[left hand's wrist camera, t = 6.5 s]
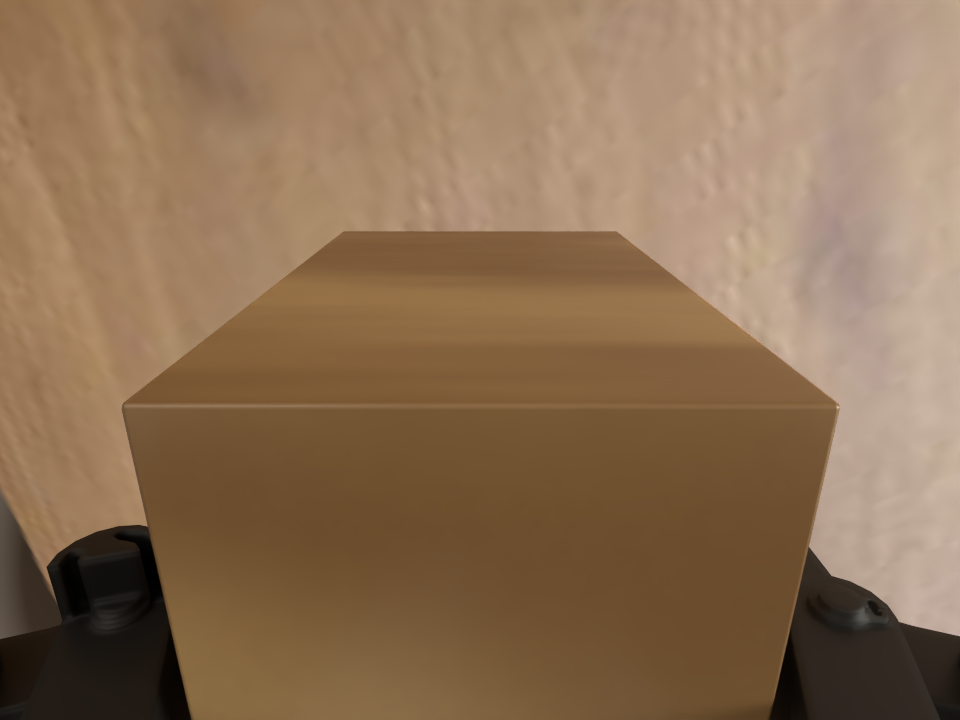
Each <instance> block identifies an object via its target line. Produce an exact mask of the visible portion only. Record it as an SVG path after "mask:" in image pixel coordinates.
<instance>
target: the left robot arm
mask: <svg viewBox="0 0 960 720" xmlns="http://www.w3.org/2000/svg"><path fill="white" fill-rule="evenodd" d="M47 570H48V573H49V577H50V580H51V583H52V587H53V590H54V593H55V597H56V600H57V603H58V607H59V610H60V613H61V617H62V623H61V625H59V626H55V627H52V628H48V629H44V630H39V631H35V632H31V633H26V634H22V635H17V636H13V637H8V638H4V639H0V720H191V716H190V712H189V707H188V703H187V698H186V694H185V690H184V685H183V681H182V676H181V672H180V667H179V663H178V658H177V654H176V649H175V645H174V640H173V636H172V632H171V627H170V623H169V618H168V614H167V609H166V605H165V600H164V596H163V591H162V587H161V582H160V578H159V573H158V569H157V565H156V560H155V556H154V551H153V547H152V542H151V538H150V533H149V529H148V527H146V526H141V525H131V526H118V527H114V528H110V529H106V530H102V531H98V532H95V533H93V534H91V535H88V536H86V537H84V538H82V539H79V540H77V541H75V542H74V543H72V544H71V545H69V546H68V547H66V548H65V549H63V550H62V551H61V552H59V553H58V554H57V555H56V556H55V557H54V559H53V560H52V561H51V562H50V563H49V565H48V566H47ZM770 720H960V636H955V635H951V634H946V633H942V632H937V631H933V630H928V629H924V628H919V627H915V626H911V625H907V624H904V623H901V622H898V619H897V618H896V617H895V615H894V614H893V612H892V611H891V609H890V608H889V607H888V605H887V604H885V603H884V602H883V601H882V600H880V599H879V598H878V597H877V596H875V595H874V594H873V593H872V592H870V591H868V590H866V589H864V588H862V587H860V586H858V585H856V584H854V583H852V582H850V581H847V580H843V579H840V578H836V577H833V576H831V575H830V574H829V572H828V571H827V570H826V568H825V567H824V566H823V565H822V563H821V562H820V561H819V559H818V558H817V557H816V556H815V554H814V553H813V552H812V550H811V549H810V548H809V547H808V551H807V556H806V560H805V565H804V569H803V574H802V578H801V583H800V587H799V591H798V596H797V600H796V605H795V609H794V614H793V618H792V623H791V627H790V631H789V636H788V640H787V645H786V649H785V654H784V658H783V662H782V667H781V671H780V676H779V680H778V685H777V689H776V694H775V698H774V702H773V707H772V711H771V716H770Z"/></svg>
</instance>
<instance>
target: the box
mask: <svg viewBox="0 0 960 720" xmlns="http://www.w3.org/2000/svg"><path fill="white" fill-rule="evenodd" d="M122 413H123V417H124V422H125V426H126V431H127V435H128V440H129V444H130V449H131V453H132V457H133V462H134V466H135V471H136V475H137V480H138V484H139V489H140V493H141V498H142V502H143V507H144V511H145V515H146V520H147V524H148V529H149V533H150V538H151V542H152V547H153V551H154V556H155V560H156V565H157V569H158V573H159V578H160V582H161V587H162V591H163V596H164V600H165V605H166V609H167V614H168V618H169V623H170V627H171V632H172V636H173V640H174V645H175V649H176V654H177V658H178V663H179V667H180V672H181V676H182V681H183V685H184V690H185V694H186V698H187V703H188V707H189V712H190V716H191V720H770V716H771V711H772V707H773V702H774V698H775V694H776V689H777V685H778V680H779V676H780V671H781V667H782V662H783V658H784V654H785V649H786V645H787V640H788V636H789V631H790V627H791V623H792V618H793V614H794V609H795V605H796V600H797V596H798V591H799V587H800V583H801V578H802V574H803V569H804V565H805V560H806V556H807V551H808V547H809V543H810V538H811V534H812V529H813V525H814V520H815V516H816V511H817V507H818V503H819V498H820V494H821V489H822V485H823V480H824V476H825V472H826V467H827V463H828V458H829V454H830V449H831V445H832V440H833V436H834V432H835V427H836V423H837V418H838V414H839V404H838V403H837V402H836V401H834V400H833V399H832V398H831V397H829V396H828V395H827V394H825V393H824V392H823V391H822V390H820V389H819V388H818V387H816V386H815V385H814V384H813V383H811V382H810V381H809V380H807V379H806V378H805V377H804V376H802V375H801V374H800V373H798V372H797V371H796V370H794V369H793V368H792V367H791V366H789V365H788V364H787V363H785V362H784V361H783V360H782V359H780V358H779V357H778V356H776V355H775V354H774V353H773V352H771V351H770V350H769V349H767V348H766V347H765V346H764V345H762V344H761V343H760V342H758V341H757V340H756V339H754V338H753V337H752V336H751V335H749V334H748V333H747V332H745V331H744V330H743V329H742V328H740V327H739V326H738V325H736V324H735V323H734V322H733V321H731V320H730V319H729V318H727V317H726V316H725V315H724V314H722V313H721V312H720V311H718V310H717V309H716V308H715V307H713V306H712V305H711V304H709V303H708V302H707V301H705V300H704V299H703V298H702V297H700V296H699V295H698V294H696V293H695V292H694V291H693V290H691V289H690V288H689V287H687V286H686V285H685V284H684V283H682V282H681V281H680V280H678V279H677V278H676V277H675V276H673V275H672V274H671V273H669V272H668V271H667V270H665V269H664V268H663V267H662V266H660V265H659V264H658V263H656V262H655V261H654V260H653V259H651V258H650V257H649V256H647V255H646V254H645V253H644V252H642V251H641V250H640V249H638V248H637V247H636V246H635V245H633V244H632V243H631V242H629V241H628V240H627V239H626V238H624V237H623V236H622V235H620V234H619V233H618V232H342V233H341V234H340V235H339V236H337V237H336V238H335V239H334V240H332V241H331V242H330V243H328V244H327V245H326V246H325V247H323V248H322V249H321V250H319V251H318V252H317V253H316V254H314V255H313V256H312V257H310V258H309V259H308V260H307V261H305V262H304V263H303V264H301V265H300V266H299V267H298V268H296V269H295V270H294V271H292V272H291V273H290V274H289V275H287V276H286V277H285V278H283V279H282V280H281V281H280V282H278V283H277V284H276V285H274V286H273V287H272V288H271V289H269V290H268V291H267V292H265V293H264V294H263V295H262V296H260V297H259V298H258V299H256V300H255V301H254V302H253V303H251V304H250V305H249V306H247V307H246V308H245V309H244V310H242V311H241V312H240V313H238V314H237V315H236V316H235V317H233V318H232V319H231V320H229V321H228V322H227V323H226V324H224V325H223V326H222V327H220V328H219V329H218V330H217V331H215V332H214V333H213V334H211V335H210V336H209V337H208V338H206V339H205V340H204V341H202V342H201V343H200V344H199V345H197V346H196V347H195V348H193V349H192V350H191V351H190V352H188V353H187V354H186V355H184V356H183V357H182V358H181V359H179V360H178V361H177V362H176V363H174V364H173V365H172V366H170V367H169V368H168V369H167V370H165V371H164V372H163V373H161V374H160V375H159V376H158V377H156V378H155V379H154V380H152V381H151V382H150V383H149V384H147V385H146V386H145V387H143V388H142V389H141V390H140V391H138V392H137V393H136V394H134V395H133V396H132V397H131V398H129V399H128V400H127V401H125V402H124V403H123V405H122Z"/></svg>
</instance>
